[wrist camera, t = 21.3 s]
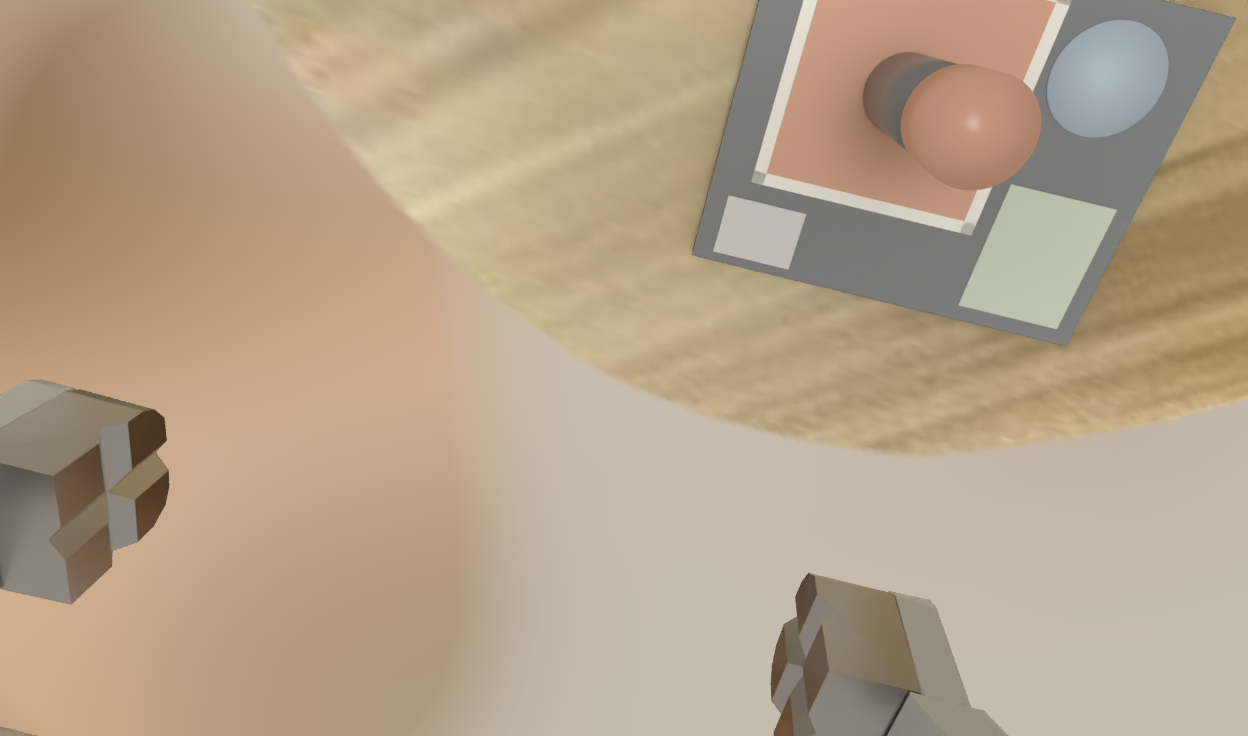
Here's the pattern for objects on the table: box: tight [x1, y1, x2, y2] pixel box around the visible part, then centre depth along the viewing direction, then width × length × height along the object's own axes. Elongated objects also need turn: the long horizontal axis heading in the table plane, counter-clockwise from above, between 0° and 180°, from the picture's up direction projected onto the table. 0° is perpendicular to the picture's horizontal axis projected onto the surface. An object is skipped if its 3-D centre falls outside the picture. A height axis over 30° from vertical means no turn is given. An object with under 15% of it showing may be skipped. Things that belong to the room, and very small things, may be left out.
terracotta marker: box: [863, 52, 1042, 190], centre depth 31 cm, size 4×4×12 cm
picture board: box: [692, 0, 1236, 346], centre depth 38 cm, size 20×16×1 cm
